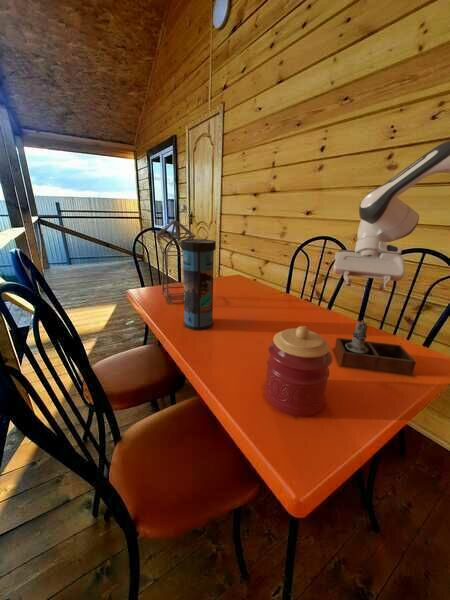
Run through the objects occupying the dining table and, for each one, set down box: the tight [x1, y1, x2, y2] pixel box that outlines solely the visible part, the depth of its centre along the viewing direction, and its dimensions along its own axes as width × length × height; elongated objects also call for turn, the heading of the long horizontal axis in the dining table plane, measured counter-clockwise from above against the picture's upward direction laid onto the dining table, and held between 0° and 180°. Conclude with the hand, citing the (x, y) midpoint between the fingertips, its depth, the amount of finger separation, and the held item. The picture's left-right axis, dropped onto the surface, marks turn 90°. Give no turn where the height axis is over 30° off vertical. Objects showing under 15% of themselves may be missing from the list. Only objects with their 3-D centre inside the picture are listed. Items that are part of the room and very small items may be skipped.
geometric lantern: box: [155, 220, 197, 305], centre depth 110 cm, size 16×16×35 cm
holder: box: [333, 337, 417, 377], centre depth 71 cm, size 17×9×5 cm, turn 78°
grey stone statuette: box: [345, 319, 369, 354], centre depth 70 cm, size 6×6×12 cm
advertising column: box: [180, 238, 217, 331], centre depth 87 cm, size 11×11×30 cm
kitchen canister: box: [264, 325, 333, 418], centre depth 55 cm, size 13×13×18 cm
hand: (364, 287), depth 80 cm, fingers open, 8 cm apart
